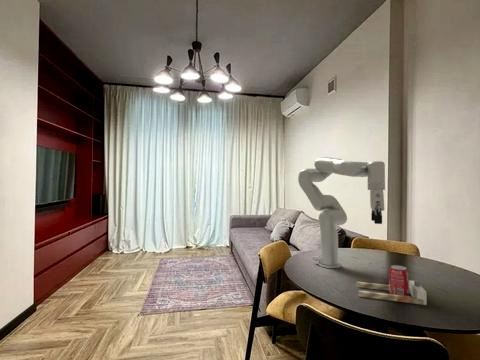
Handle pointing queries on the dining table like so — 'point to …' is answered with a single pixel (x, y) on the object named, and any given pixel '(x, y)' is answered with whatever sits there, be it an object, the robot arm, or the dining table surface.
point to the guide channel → (385, 296)
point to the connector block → (417, 291)
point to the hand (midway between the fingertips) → (376, 222)
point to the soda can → (398, 280)
